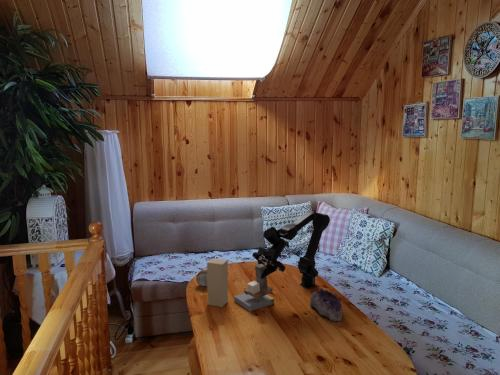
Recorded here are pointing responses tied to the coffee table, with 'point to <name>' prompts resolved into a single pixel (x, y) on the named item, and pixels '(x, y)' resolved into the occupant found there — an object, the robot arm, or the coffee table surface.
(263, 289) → the grey column with base
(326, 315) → the geode
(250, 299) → the dock
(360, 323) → the coffee table surface
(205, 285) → the tin
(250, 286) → the box
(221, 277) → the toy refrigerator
